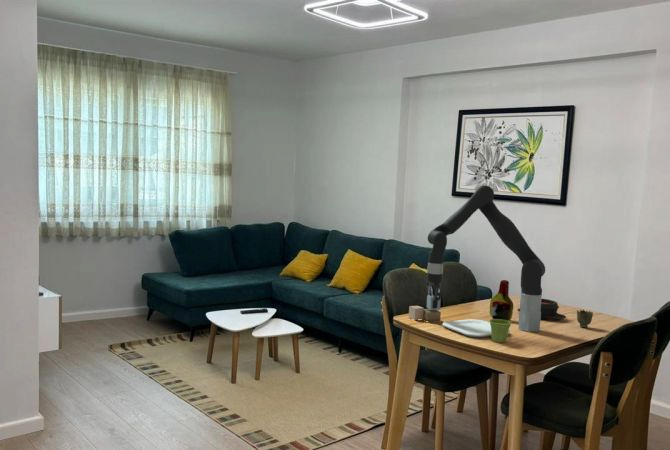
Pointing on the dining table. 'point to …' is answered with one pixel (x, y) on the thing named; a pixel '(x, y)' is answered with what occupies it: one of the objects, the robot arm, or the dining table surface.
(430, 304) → the grey cube
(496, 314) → the bottle
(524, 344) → the dining table surface
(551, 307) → the casserole
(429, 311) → the walnut block
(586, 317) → the cup
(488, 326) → the plate
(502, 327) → the plant pot
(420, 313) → the pale pinkish block
